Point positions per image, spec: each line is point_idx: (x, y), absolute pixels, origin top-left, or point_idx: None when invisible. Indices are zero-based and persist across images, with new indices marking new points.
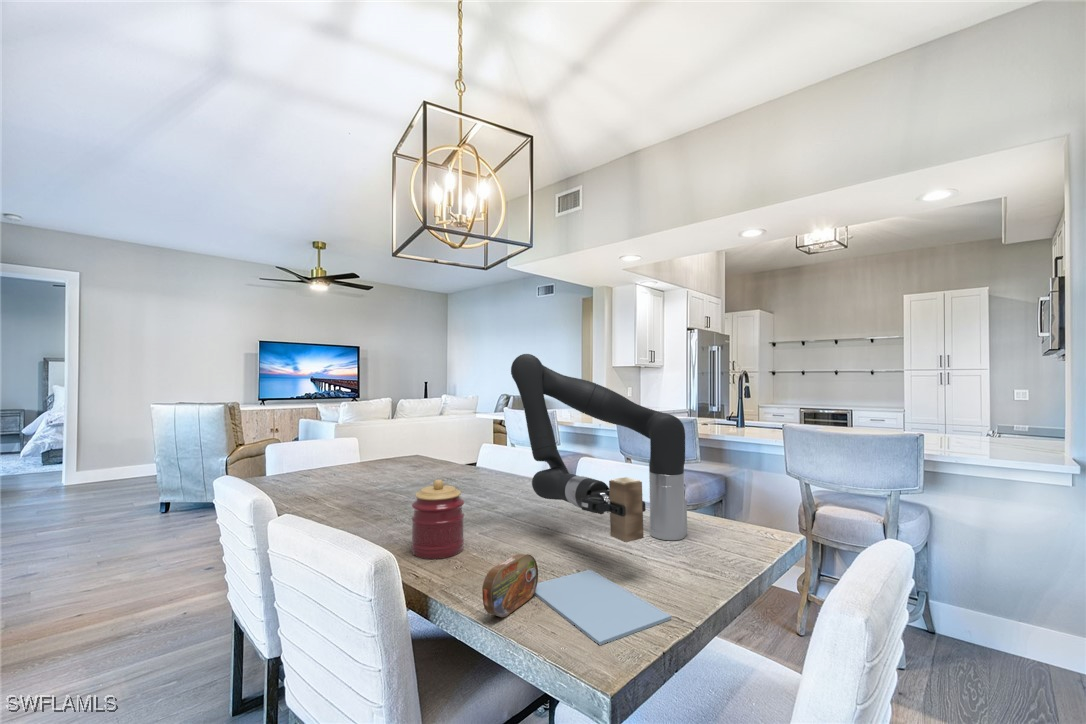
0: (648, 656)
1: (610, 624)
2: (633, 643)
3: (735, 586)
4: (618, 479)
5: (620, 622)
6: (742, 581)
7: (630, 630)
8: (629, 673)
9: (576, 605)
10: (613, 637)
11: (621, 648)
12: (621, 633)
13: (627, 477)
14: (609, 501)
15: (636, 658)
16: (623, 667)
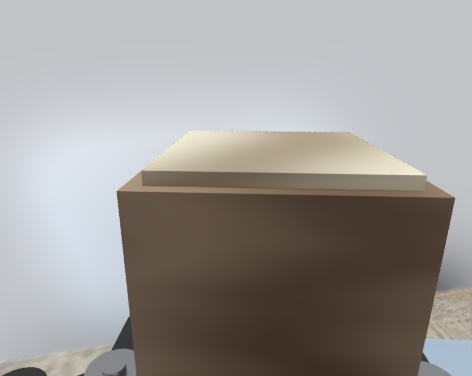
0: None
1: (468, 370)
2: (428, 327)
3: (64, 360)
4: (323, 160)
5: (440, 365)
6: (20, 366)
7: (426, 339)
8: (458, 293)
9: None
10: (469, 341)
11: (456, 327)
12: (449, 340)
13: (152, 164)
14: (430, 371)
15: (436, 305)
16: (464, 302)
